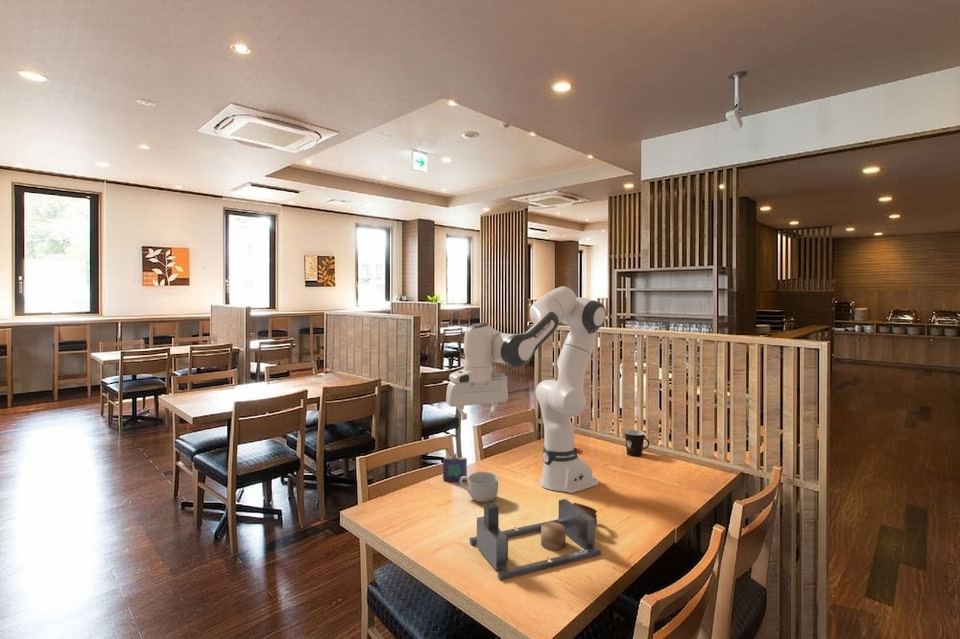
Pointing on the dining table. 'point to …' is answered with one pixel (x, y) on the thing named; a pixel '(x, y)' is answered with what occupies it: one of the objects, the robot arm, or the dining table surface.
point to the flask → (454, 468)
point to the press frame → (577, 529)
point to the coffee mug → (635, 442)
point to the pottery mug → (587, 510)
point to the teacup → (481, 486)
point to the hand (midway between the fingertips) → (477, 417)
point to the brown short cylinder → (553, 536)
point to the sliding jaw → (492, 537)
